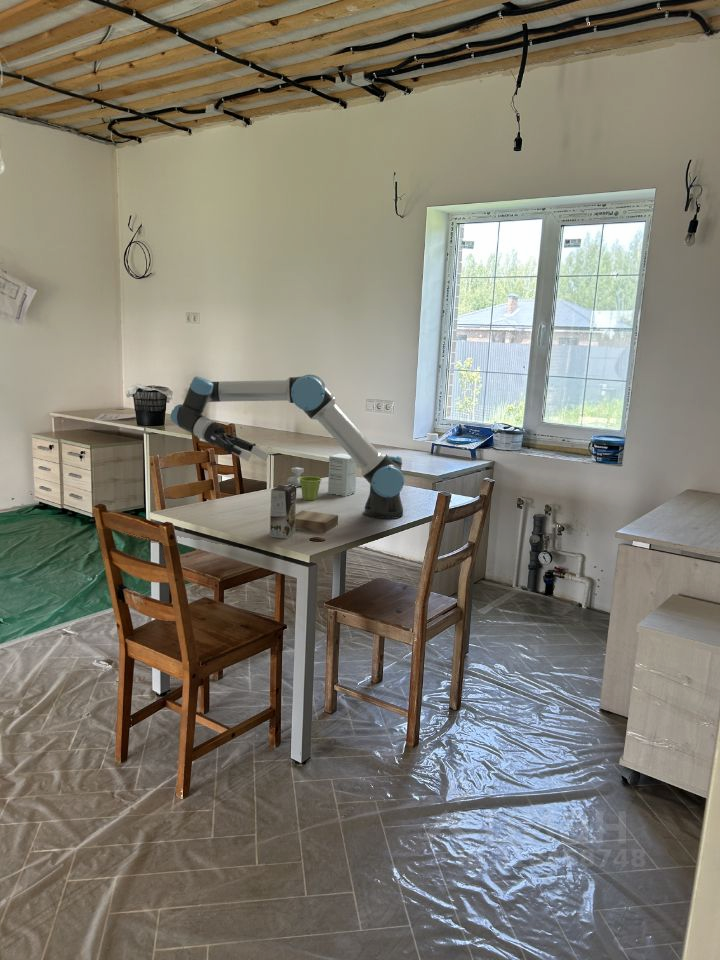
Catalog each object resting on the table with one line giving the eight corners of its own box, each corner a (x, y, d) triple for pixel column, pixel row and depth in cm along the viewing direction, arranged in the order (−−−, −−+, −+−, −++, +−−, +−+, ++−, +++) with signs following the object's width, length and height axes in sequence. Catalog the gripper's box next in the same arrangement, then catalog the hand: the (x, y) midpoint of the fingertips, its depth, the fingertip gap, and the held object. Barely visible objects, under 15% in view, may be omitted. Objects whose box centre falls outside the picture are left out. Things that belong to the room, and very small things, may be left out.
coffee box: (287, 539, 222) (289, 491, 218) (269, 537, 223) (270, 489, 220) (295, 532, 230) (297, 486, 227) (277, 530, 232) (279, 484, 228)
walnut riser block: (337, 525, 243) (338, 515, 242) (325, 534, 231) (326, 522, 231) (302, 521, 247) (302, 510, 246) (288, 528, 236) (288, 517, 235)
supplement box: (337, 490, 300) (339, 453, 297) (355, 493, 297) (357, 455, 293) (327, 494, 292) (328, 455, 289) (346, 497, 288) (347, 458, 285)
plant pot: (310, 502, 274) (311, 481, 273) (293, 498, 280) (294, 478, 278) (325, 499, 282) (326, 479, 280) (308, 495, 287) (309, 475, 286)
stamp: (309, 486, 305) (310, 468, 303) (299, 488, 300) (300, 470, 298) (295, 483, 310) (295, 465, 309) (285, 485, 305) (285, 467, 303)
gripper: (223, 441, 251) (270, 466, 246) (186, 440, 227) (236, 467, 222) (231, 422, 250) (278, 447, 244) (194, 420, 226) (245, 447, 221)
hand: (258, 457), depth 233 cm, fingers open, 13 cm apart
